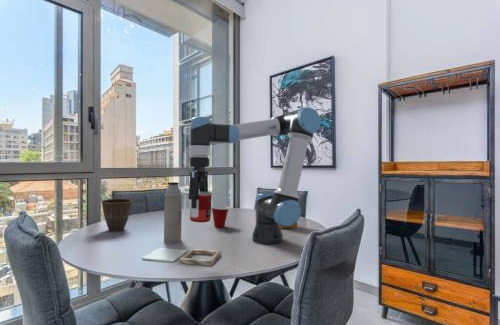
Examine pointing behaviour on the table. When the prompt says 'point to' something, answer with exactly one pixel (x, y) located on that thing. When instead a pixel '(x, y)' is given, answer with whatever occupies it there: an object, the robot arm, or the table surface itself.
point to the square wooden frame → (198, 261)
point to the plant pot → (116, 213)
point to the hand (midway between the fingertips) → (198, 214)
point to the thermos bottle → (172, 213)
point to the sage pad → (165, 255)
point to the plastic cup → (219, 215)
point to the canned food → (203, 207)
